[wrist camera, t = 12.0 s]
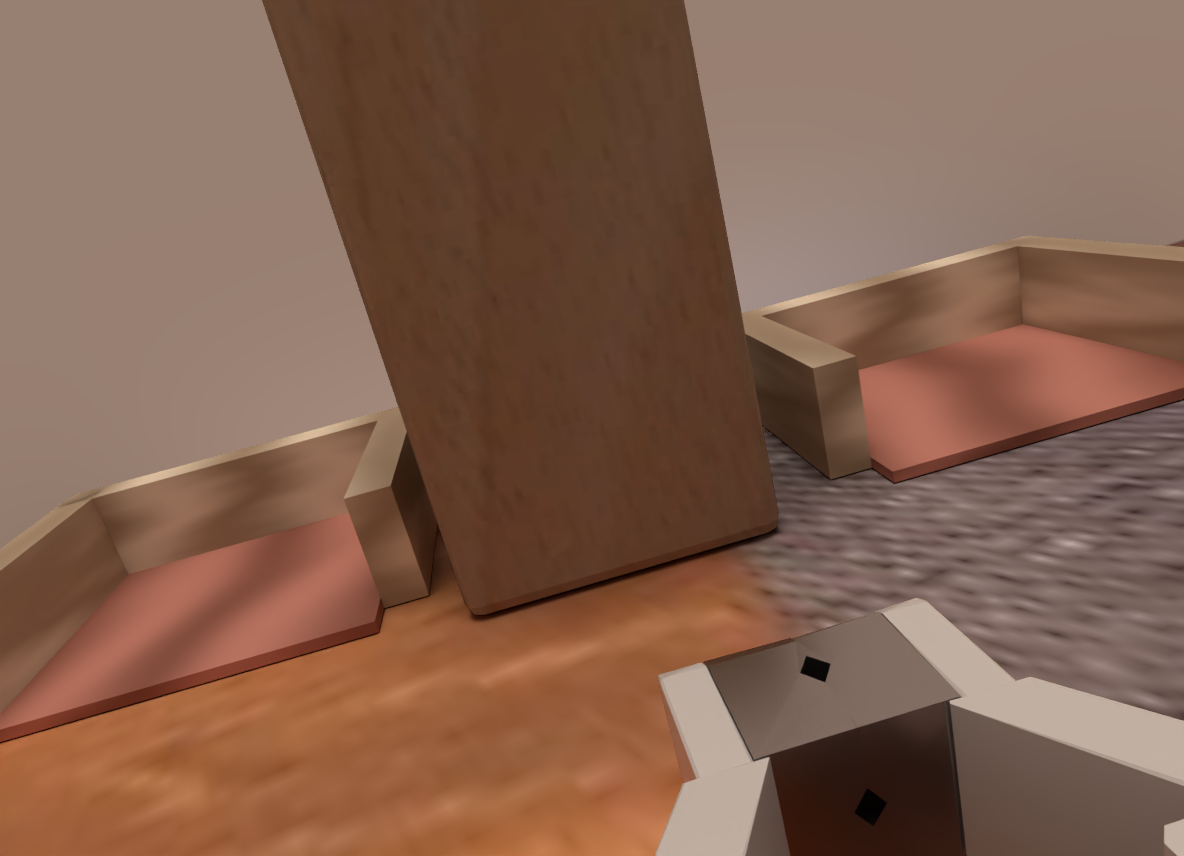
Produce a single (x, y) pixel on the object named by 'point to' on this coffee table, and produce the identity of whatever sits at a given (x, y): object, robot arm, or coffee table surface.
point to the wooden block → (540, 276)
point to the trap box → (408, 524)
